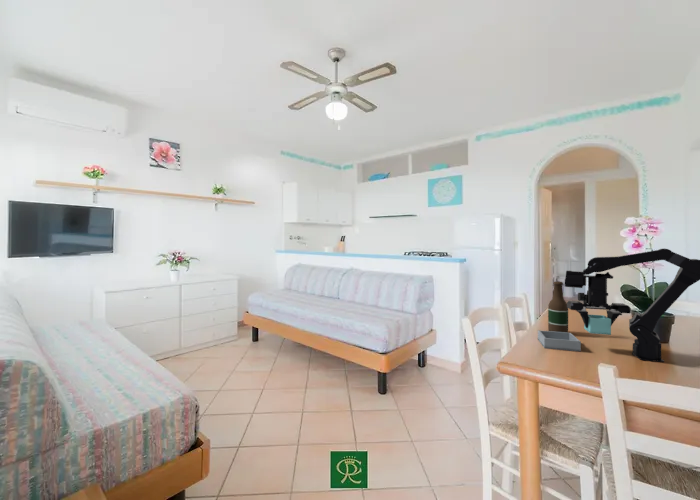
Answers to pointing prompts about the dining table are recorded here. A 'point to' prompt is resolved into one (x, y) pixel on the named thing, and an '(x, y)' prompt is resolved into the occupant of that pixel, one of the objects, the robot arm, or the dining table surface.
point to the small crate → (598, 324)
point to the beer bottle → (558, 311)
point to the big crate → (559, 341)
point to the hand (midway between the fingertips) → (597, 328)
